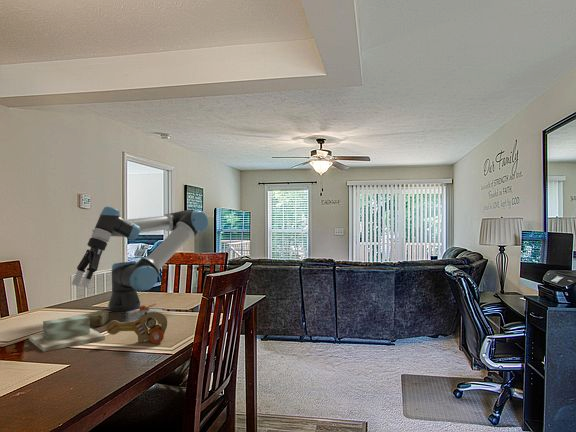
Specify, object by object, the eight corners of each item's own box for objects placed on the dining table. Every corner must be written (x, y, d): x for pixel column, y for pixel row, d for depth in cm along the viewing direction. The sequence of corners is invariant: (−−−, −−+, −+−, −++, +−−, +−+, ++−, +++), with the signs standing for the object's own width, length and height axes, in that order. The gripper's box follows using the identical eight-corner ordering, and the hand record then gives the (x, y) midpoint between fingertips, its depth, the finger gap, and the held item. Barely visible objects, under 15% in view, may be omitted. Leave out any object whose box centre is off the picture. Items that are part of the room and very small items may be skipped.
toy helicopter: (166, 343, 147) (166, 304, 147) (103, 347, 142) (103, 307, 142) (168, 337, 155) (167, 300, 155) (108, 341, 150) (108, 303, 150)
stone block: (109, 320, 181) (109, 309, 181) (101, 327, 170) (101, 315, 170) (95, 321, 181) (95, 310, 181) (86, 328, 169) (86, 316, 169)
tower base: (86, 329, 166) (86, 310, 166) (104, 339, 152) (104, 319, 152) (28, 339, 152) (28, 319, 152) (43, 351, 138) (43, 329, 138)
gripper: (82, 237, 191) (62, 282, 184) (100, 235, 173) (79, 284, 166) (98, 243, 196) (79, 287, 189) (117, 242, 177) (97, 289, 170)
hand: (79, 285), depth 177 cm, fingers open, 13 cm apart
